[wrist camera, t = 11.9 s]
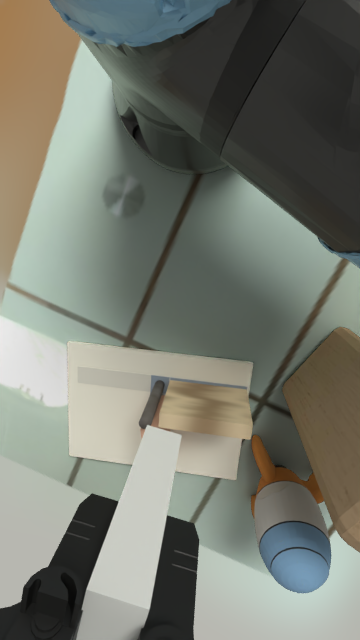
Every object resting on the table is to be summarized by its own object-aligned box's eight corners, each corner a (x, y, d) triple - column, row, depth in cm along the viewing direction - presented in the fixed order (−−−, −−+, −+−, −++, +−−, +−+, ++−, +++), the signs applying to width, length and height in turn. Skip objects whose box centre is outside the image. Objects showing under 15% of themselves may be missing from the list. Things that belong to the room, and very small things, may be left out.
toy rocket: (234, 428, 42) (275, 511, 27) (316, 426, 42) (401, 506, 28) (232, 504, 43) (271, 622, 28) (312, 501, 44) (391, 615, 29)
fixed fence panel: (155, 388, 40) (138, 430, 32) (155, 376, 40) (139, 415, 31) (244, 400, 39) (251, 445, 31) (246, 387, 39) (253, 431, 30)
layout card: (69, 340, 40) (66, 342, 39) (252, 361, 38) (253, 364, 37) (71, 452, 44) (68, 456, 44) (235, 476, 43) (235, 480, 42)
